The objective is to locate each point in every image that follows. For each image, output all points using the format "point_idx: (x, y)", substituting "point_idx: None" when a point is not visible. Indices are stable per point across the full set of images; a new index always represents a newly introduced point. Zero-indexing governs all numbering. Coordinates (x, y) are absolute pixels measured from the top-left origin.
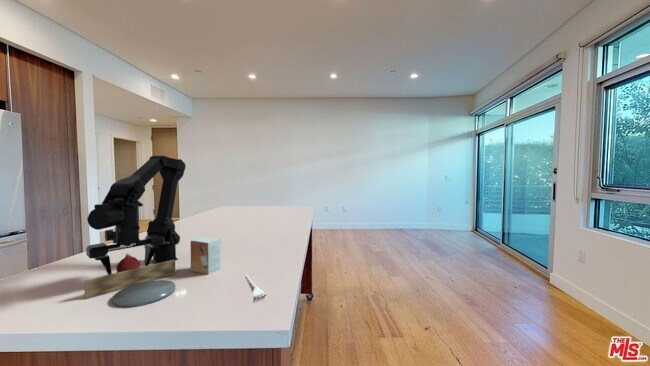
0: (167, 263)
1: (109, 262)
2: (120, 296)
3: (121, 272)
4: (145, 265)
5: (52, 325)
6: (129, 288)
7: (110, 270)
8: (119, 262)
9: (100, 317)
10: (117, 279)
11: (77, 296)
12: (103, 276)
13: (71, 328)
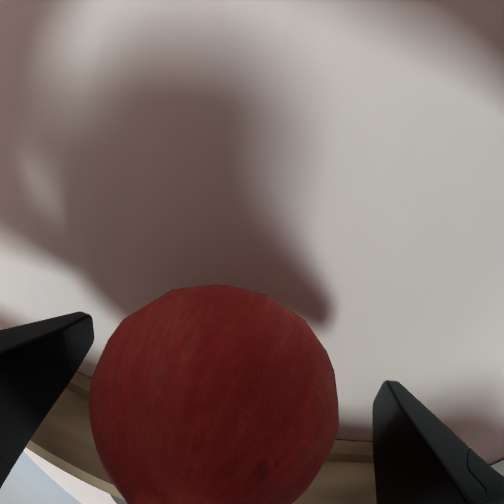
0: None
1: (7, 467)
2: None
3: (118, 494)
4: (381, 422)
5: None
6: None
7: (53, 397)
8: (91, 425)
9: (90, 493)
10: None
11: (8, 316)
12: (37, 449)
13: (49, 473)
